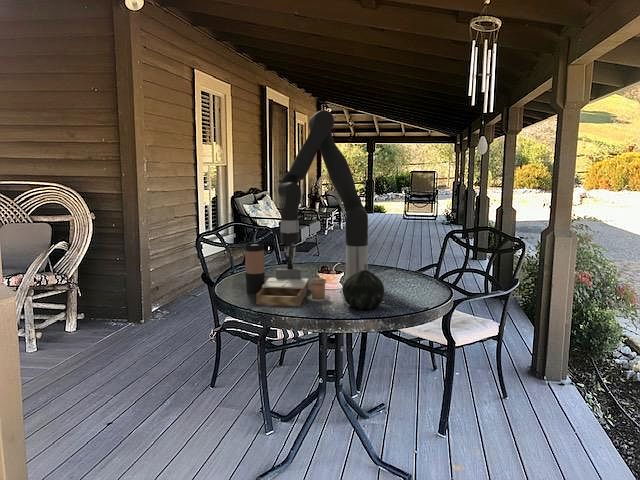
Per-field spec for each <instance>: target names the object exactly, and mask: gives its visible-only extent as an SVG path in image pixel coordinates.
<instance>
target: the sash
mask: <svg viewBox="0 0 640 480" xmlns="http://www.w3.org/2000/svg"><path fill="white" fill-rule="evenodd" d="M308 280H309V278H302V269H301V268H300V269H298V268H296V269H295V268H293V269H287V268H276V269H275V277H268V279H267V280H266V281H265V283H264V284H263V285H262V288H295V289H303V288H304V287H305V285H306V283H307V282H308ZM305 288H306V287H305Z"/></svg>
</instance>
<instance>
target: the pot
mask: <svg viewBox="0 0 640 480" xmlns="http://www.w3.org/2000/svg"><path fill="white" fill-rule="evenodd" d="M326 283H327V279H325V278H320V277H315V278H311V279H310V284H311V295H312V299H318V300H319V299H324V298H325V295H326Z"/></svg>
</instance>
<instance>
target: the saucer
mask: <svg viewBox="0 0 640 480" xmlns="http://www.w3.org/2000/svg"><path fill="white" fill-rule="evenodd" d="M306 299H307V300H309V301H313V302H323V301H324V302H325V301H328V300H331V296H329V295H326V294H325V298H324V299H319V300H318V299H312V294H311V295H309V296H306Z"/></svg>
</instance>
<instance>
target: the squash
mask: <svg viewBox="0 0 640 480" xmlns="http://www.w3.org/2000/svg"><path fill="white" fill-rule="evenodd" d="M384 286H385V285H384V283H383V282H382V281H381V279H380V278H379V277H378V276H377V275H376V274H374V273H373V272H371V271H369V270H368V271H367V270H361V271H359V272H357V273H355V274H353V275H352V276H351V277H349V278H348V279H347V280H346V279H345V282H344V283H343V285H342V295H343V297H344V300H345V302H346V304H347V305H349V306H350V307H351V306H352V307H353V308H358V310H360V311H363V310H364V309H365V310H371V309H375V308H376V309H377V308H378V307H379V306H380V305H381V303H382V301H383V300H384V299H383V298H384V295H385V294H384V293H385V288H384Z"/></svg>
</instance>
